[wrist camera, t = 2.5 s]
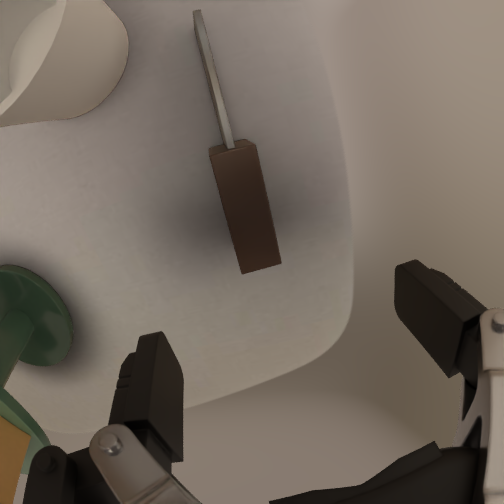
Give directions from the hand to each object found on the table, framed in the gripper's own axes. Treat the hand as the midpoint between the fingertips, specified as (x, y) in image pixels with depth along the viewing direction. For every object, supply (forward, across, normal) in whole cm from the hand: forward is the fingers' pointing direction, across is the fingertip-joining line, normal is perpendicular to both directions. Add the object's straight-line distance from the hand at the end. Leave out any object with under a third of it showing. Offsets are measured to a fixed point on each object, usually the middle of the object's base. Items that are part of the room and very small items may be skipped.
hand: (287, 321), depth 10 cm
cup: (+12, +8, -16) cm, 21 cm away
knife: (+12, 0, -5) cm, 13 cm away
